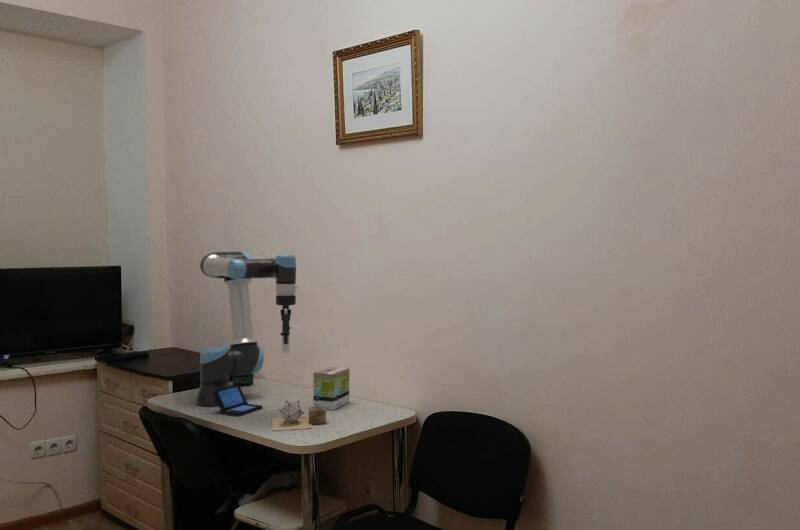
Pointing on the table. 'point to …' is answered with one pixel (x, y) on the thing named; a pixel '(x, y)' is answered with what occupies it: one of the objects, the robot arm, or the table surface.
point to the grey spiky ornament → (291, 411)
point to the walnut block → (317, 415)
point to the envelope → (290, 424)
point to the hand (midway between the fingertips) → (285, 349)
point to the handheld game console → (233, 401)
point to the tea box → (331, 388)
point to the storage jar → (243, 380)
